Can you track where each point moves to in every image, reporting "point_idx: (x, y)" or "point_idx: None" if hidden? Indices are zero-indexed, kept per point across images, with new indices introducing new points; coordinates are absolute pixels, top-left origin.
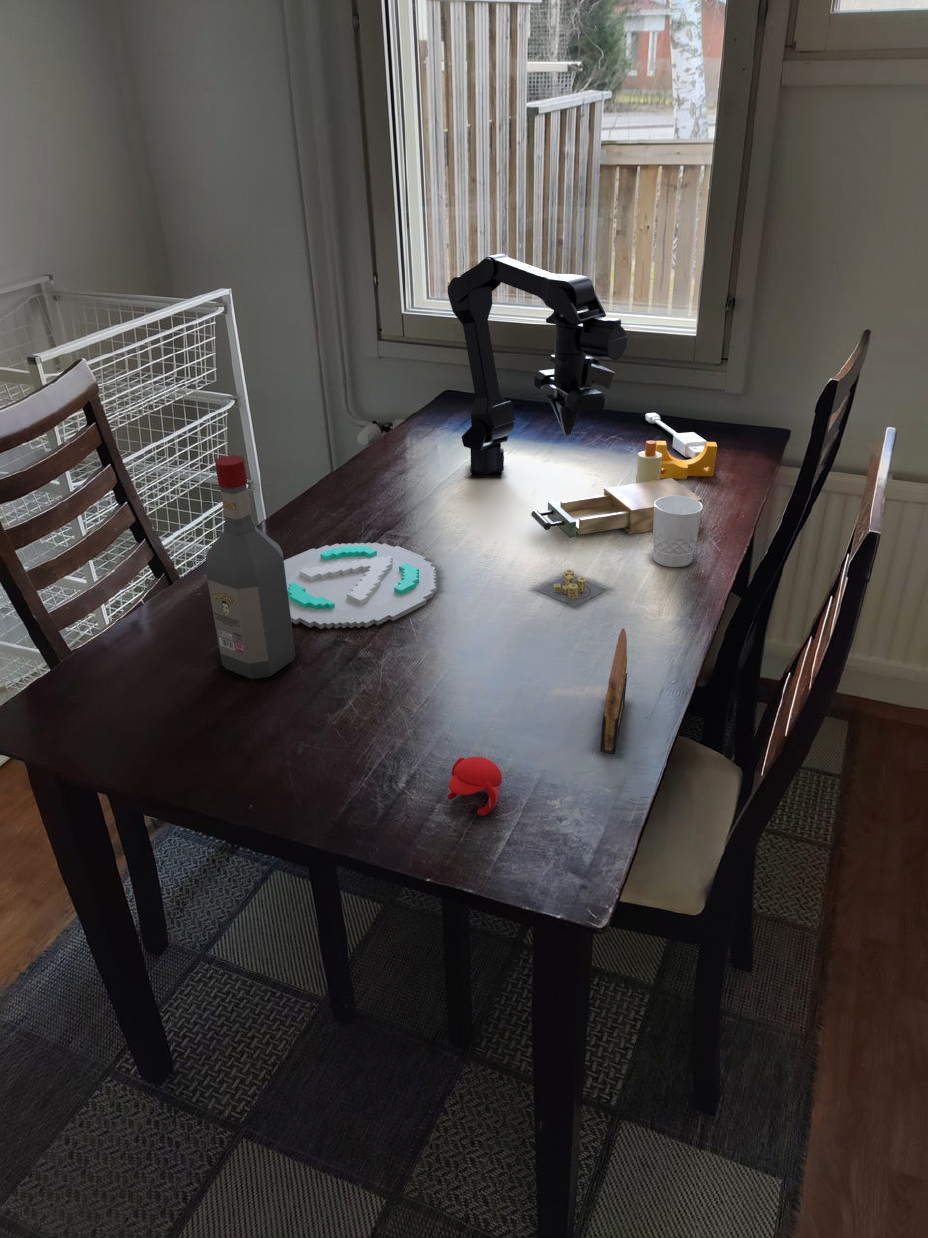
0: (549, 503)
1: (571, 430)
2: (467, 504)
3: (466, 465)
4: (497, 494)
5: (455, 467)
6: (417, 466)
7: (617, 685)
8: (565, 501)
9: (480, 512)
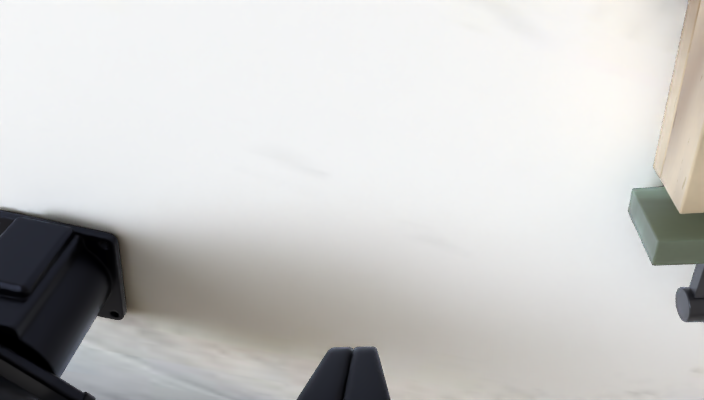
0: (676, 264)
1: (385, 384)
2: None
3: None
4: (289, 279)
5: None
6: None
7: None
8: (698, 193)
9: (438, 351)
